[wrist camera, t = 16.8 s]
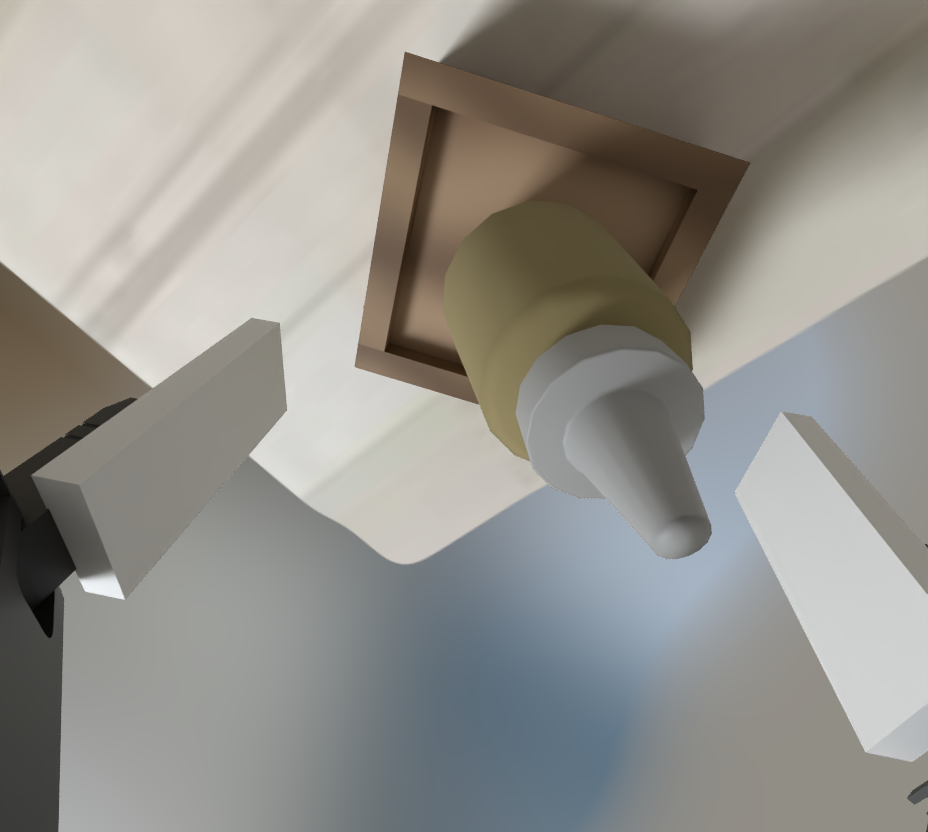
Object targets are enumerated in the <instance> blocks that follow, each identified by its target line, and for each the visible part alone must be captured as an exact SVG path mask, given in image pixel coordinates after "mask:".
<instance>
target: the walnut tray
mask: <svg viewBox="0 0 928 832" xmlns="http://www.w3.org/2000/svg"><path fill="white" fill-rule="evenodd" d="M749 164H750V163H749V162H746V161H743V160H740V159H737V158H734V157H731V156H728V155H725V154H721V153H718V152H715V151H712V150H709V149H706V148H703V147H700V146H697V145H693V144H690V143H687V142H684V141H681V140H678V139H675V138H672V137H669V136H666V135H662V134H659V133H656V132H653V131H650V130H647V129H644V128H641V127H638V126H634V125H631V124H628V123H625V122H622V121H619V120H616V119H613V118H610V117H606V116H603V115H600V114H597V113H594V112H591V111H588V110H585V109H582V108H578V107H575V106H572V105H569V104H566V103H563V102H560V101H557V100H554V99H550V98H547V97H544V96H541V95H538V94H535V93H532V92H529V91H526V90H522V89H519V88H516V87H513V86H510V85H507V84H504V83H501V82H498V81H494V80H491V79H488V78H485V77H482V76H479V75H476V74H473V73H470V72H467V71H463V70H460V69H457V68H454V67H451V66H448V65H445V64H442V63H439V62H435V61H432V60H429V59H426V58H423V57H420V56H417V55H414V54H411V53H407V52H405V54H404V60H403V67H402V73H401V79H400V85H399V92H398V98H397V104H396V111H395V117H394V123H393V129H392V136H391V142H390V148H389V154H388V161H387V167H386V173H385V179H384V186H383V192H382V198H381V205H380V211H379V217H378V223H377V230H376V236H375V242H374V248H373V255H372V261H371V267H370V274H369V280H368V286H367V292H366V299H365V305H364V311H363V317H362V324H361V330H360V336H359V343H358V349H357V355H356V361H355V367H356V368H360V369H363V370H366V371H370V372H373V373H376V374H379V375H383V376H386V377H389V378H393V379H396V380H399V381H403V382H406V383H409V384H413V385H416V386H419V387H423V388H426V389H429V390H433V391H436V392H439V393H443V394H446V395H449V396H453V397H456V398H459V399H462V400H466V401H469V402H472V403H476V404H479V402H478V400H477V397H476V395H475V393H474V390H473V388H472V385H471V383H470V380H469V378H468V376H467V373H466V371H465V368H464V366H463V363H462V361H461V359H460V356H459V354H458V351H457V349H456V346H455V344H454V342H453V339H452V336H451V333H450V330H449V327H448V325H447V322H446V319H445V316H444V313H443V299H444V283H445V274H446V272H447V270H448V268H449V266H450V264H451V262H452V260H453V258H454V256H455V254H456V252H457V250H458V248H459V246H460V244H461V242H462V240H463V239H464V238H465V237H467V236H468V235H469V234H470V233H471V232H472V231H473V230H474V229H475V228H477V227H478V226H479V225H480V224H481V223H482V222H483V221H484V220H486V219H487V218H488V217H489V216H490V215H491V214H493V213H495V212H498V211H501V210H504V209H507V208H510V207H513V206H515V205H518V204H521V203H524V202H527V201H530V200H531V201H543V202H555V203H567V204H570V205H572V206H573V207H575V208H577V209H578V210H580V211H582V212H583V213H585V214H587V215H588V216H590V217H592V218H593V219H595V220H597V221H598V222H600V223H601V224H602V225H603V226H604V227H605V228H606V230H607V231H608V232H609V233H610V234H611V235H612V236H613V237H614V238H615V239H616V241H617V242H618V243H619V244H620V245H621V246H622V247H623V248H624V249H625V250H626V252H627V253H628V254H629V255H630V256H631V257H632V258H633V259H634V260H635V262H636V263H637V264H638V265H639V266H640V267H641V268H642V269H643V270H644V271H645V273H646V274H647V275H648V276H649V277H650V278H651V279H652V280H653V281H654V282H655V284H656V285H657V286H658V287H659V288H660V289H661V290H662V291H663V292H664V293H665V295H666V296H667V297H668V298H669V299H670V300H671V302H672V304H673V305H674V306H675V304H676V302H677V300H678V299H679V297H680V295H681V293H682V291H683V289H684V287H685V285H686V283H687V282H688V280H689V278H690V276H691V274H692V272H693V270H694V268H695V266H696V265H697V263H698V261H699V259H700V257H701V255H702V253H703V251H704V249H705V248H706V246H707V244H708V242H709V240H710V238H711V236H712V234H713V232H714V231H715V229H716V227H717V225H718V223H719V221H720V219H721V217H722V215H723V213H724V212H725V210H726V208H727V206H728V204H729V202H730V200H731V198H732V196H733V195H734V193H735V191H736V189H737V187H738V185H739V183H740V181H741V179H742V178H743V176H744V174H745V172H746V170H747V168H748V166H749Z"/></svg>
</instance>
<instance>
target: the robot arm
mask: <svg viewBox="0 0 928 832" xmlns="http://www.w3.org/2000/svg"><path fill="white" fill-rule="evenodd" d="M286 411H287V405H286V393H285V381H284V369H283V358H282V346H281V334H280V323H277V322H272V321H266V320H260V319H255V318H251V319H250V320H248V321H247V322H245V323H244V324H243V325H241V326H240V327H238V328H237V329H236V330H234V331H233V332H231V333H230V334H229V335H227V336H226V337H224V338H223V339H222V340H220V341H219V342H217V343H216V344H215V345H213V346H212V347H210V348H209V349H208V350H206V351H205V352H203V353H202V354H201V355H199V356H198V357H196V358H195V359H194V360H192V361H191V362H189V363H188V364H186V365H185V366H184V367H182V368H181V369H179V370H178V371H177V372H175V373H174V374H172V375H171V376H170V377H168V378H167V379H165V380H164V381H163V382H161V383H160V384H158V385H157V386H156V387H154V388H153V389H151V390H150V391H149V392H147V393H146V394H144V395H143V396H142V397H140V398H139V399H135V398H129V399H126V400H123V401H121V402H118V403H116V404H114V405H111V406H108V407H105V408H103V409H102V410H100V411H99V412H97V413H96V414H94V415H93V416H92V417H90V418H89V419H87V420H86V421H84V422H83V425H82V426H80V425H78V426H77V427H75V428H74V429H72V430H71V431H69V432H68V433H67V434H66V436H65V437H64V438H62V437H60V438H59V439H58V440H56V441H55V442H53V443H52V444H50V445H49V446H47V447H46V448H44V449H43V450H41V451H40V452H39V453H37V454H35V455H34V456H33V457H31V458H30V459H28V460H27V461H25V462H24V463H22V464H21V465H19V466H18V467H16V468H15V469H13V470H12V471H11V472H9V473H8V474H6V475H4V476H3V475H2V473H1V471H0V832H58V823H59V821H58V820H59V782H60V781H59V780H60V741H61V699H62V658H63V655H62V654H63V618H64V617H63V616H64V597H63V594H62V591H61V589H60V587H59V585H60V584H61V583H62V582H63V581H64V580H65V579H66V578H67V577H68V576H70V574H72V572H74V571H76V573H77V575H78V577H79V579H80V582H81V584H82V586H83V588H84V590H85V592H90V593H95V594H100V595H105V596H110V597H114V598H119V599H124V600H125V599H126V598H127V597H128V596H129V595H130V593H131V592H132V591H133V590H134V589H135V588H136V587H137V585H138V584H139V583H140V582H141V581H142V580H143V578H144V577H145V576H146V575H147V574H148V572H149V571H150V570H151V569H152V568H153V567H154V565H155V564H156V563H157V562H158V561H159V560H160V558H161V557H162V556H163V555H164V554H165V553H166V551H167V550H168V549H169V548H170V547H171V545H172V544H173V543H174V542H175V541H176V540H177V538H178V537H179V536H180V535H181V534H182V533H183V531H184V530H185V529H186V528H187V527H188V526H189V524H190V523H191V522H192V521H193V520H194V518H195V517H196V516H197V515H198V514H199V513H200V511H201V510H202V509H203V508H204V507H205V505H206V504H207V503H208V502H209V501H210V500H211V499H212V497H213V496H214V495H215V494H216V493H217V492H218V490H219V489H220V488H221V487H222V485H224V483H225V482H226V481H227V480H228V479H229V478H230V476H231V475H232V474H233V473H234V472H235V470H236V469H237V468H238V467H239V466H240V465H241V463H242V462H243V461H244V460H245V459H246V458H247V456H248V455H249V454H250V453H251V452H252V451H253V449H254V448H255V447H256V446H257V445H258V443H259V442H260V441H261V440H262V439H263V438H264V436H265V435H266V434H267V433H268V432H269V431H270V429H271V428H272V427H273V426H274V425H275V424H276V422H277V421H278V420H279V419H280V418H281V417H282V415H283V414H284V413H285V412H286ZM735 495H736V497H737V499H738V500H739V503H740V505H741V507H742V509H743V511H744V513H745V515H746V517H747V518H748V521H749V523H750V525H751V526H752V528H753V530H754V532H755V534H756V536H757V538H758V540H759V542H760V544H761V546H762V548H763V550H764V552H765V554H766V556H767V558H768V560H769V562H770V564H771V566H772V568H773V570H774V572H775V574H776V576H777V578H778V580H779V582H780V584H781V586H782V588H783V590H784V592H785V593H786V596H787V598H788V600H789V602H790V604H791V606H792V607H793V610H794V612H795V614H796V615H797V617H798V619H799V621H800V623H801V625H802V627H803V629H804V631H805V633H806V635H807V637H808V639H809V641H810V643H811V645H812V647H813V649H814V651H815V653H816V655H817V657H818V659H819V661H820V663H821V665H822V667H823V669H824V671H825V673H826V675H827V677H828V678H829V681H830V683H831V685H832V687H833V689H834V691H835V692H836V695H837V697H838V699H839V700H840V703H841V705H842V706H843V708H844V710H845V712H846V714H847V716H848V718H849V720H850V722H851V724H852V726H853V728H854V730H855V732H856V734H857V736H858V738H859V740H860V742H861V744H862V746H863V748H864V750H865V752H867V753H872V754H876V755H881V756H886V757H891V758H897V759H901V760H906V761H910V762H913V761H914V760H915V759H917V758H918V757H920V756H921V755H922V754H924V753H925V752H926V751H928V545H927V544H924V543H923V542H922V541H921V540H920V538H919V537H918V536H917V535H916V534H915V533H914V532H913V531H912V530H911V528H910V527H909V526H908V525H907V524H906V523H905V521H904V520H903V519H902V518H901V517H900V516H899V515H898V514H897V513H896V511H895V510H894V509H893V508H892V507H891V506H890V505H889V504H888V502H887V501H886V500H885V499H884V498H883V497H882V496H881V494H880V493H879V492H878V491H877V490H876V489H875V488H874V486H873V485H872V484H871V483H870V482H869V481H868V480H867V479H866V477H865V476H864V475H863V474H862V473H861V472H860V471H859V470H858V468H857V467H856V466H855V465H854V464H853V463H852V462H851V460H850V459H849V458H848V457H847V456H846V455H845V454H844V453H843V451H842V450H841V449H840V448H839V447H838V446H837V445H836V443H834V441H833V440H832V439H831V438H830V437H829V436H828V434H827V433H826V432H825V431H824V430H823V429H822V428H821V427H820V426H819V424H818V423H817V422H816V421H815V420H814V419H813V418H812V417H810V416H804V415H798V414H792V413H787V412H781V413H780V415H779V416H778V418H777V420H776V421H775V423H774V425H773V427H772V428H771V430H770V432H769V434H768V435H767V437H766V439H765V441H764V442H763V444H762V446H761V448H760V449H759V451H758V453H757V454H756V457H755V458H754V460H753V461H752V463H751V465H750V467H749V468H748V470H747V472H746V474H745V475H744V477H743V479H742V481H741V483H740V484H739V486H738V488H737V489H736V491H735ZM926 797H928V781H926V782H925V783H923V784H922V785H920V786H919V787H917V788H916V789H914V790H913V791H912V792H911V794H910V795H909V796H908V798H907V799H908V800H909V801H911V802H912V803H913V804H916V803H918V802H920V801H921V800H923V799H925V798H926ZM927 815H928V812H927ZM926 832H928V826H927V831H926Z"/></svg>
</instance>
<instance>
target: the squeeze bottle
mask: <svg viewBox="0 0 928 832" xmlns="http://www.w3.org/2000/svg"><path fill="white" fill-rule="evenodd" d="M443 313H444V316H445V319H446V322H447V325H448V327H449V330H450V333H451V336H452V339H453V342H454V344H455V346H456V349H457V351H458V354H459V356H460V359H461V361H462V363H463V366H464V368H465V371H466V373H467V376H468V378H469V380H470V383H471V385H472V388H473V390H474V393H475V395H476V397H477V400H478V402H479V405H480V407H481V410H482V412H483V414H484V417H485V419H486V422H487V424H488V427H489V429H490V431H491V432H492V433H493V434H494V435H495V436H496V437H497V438H498V439H499V440H500V441H501V442H502V443H503V444H504V445H505V446H506V447H507V448H508V449H509V450H510V451H511V452H512V453H513V454H514V455H516V456H518V457H521V458H523V459H526V460H528V461H530V462H531V465H532V468H533V470H534V471H535V472H536V473H537V474H538V475H539V476H540V477H541V478H542V479H543V480H544V481H545V482H546V483H547V484H548V485H549V486H551V488H554V489H556V490H559V491H562V492H564V493H567V494H569V495H572V496H575V497H577V498H599V499H607V500H608V501H609V502H610V504H611V505H612V506H613V507H614V508H615V509H616V510H617V511H618V512H619V514H620V515H621V516H622V517H623V518H624V519H625V520H626V521H627V522H628V523H629V525H630V526H631V527H632V528H633V529H634V530H635V531H636V532H637V534H638V535H639V536H640V537H641V538H642V539H643V540H644V541H645V542H646V543H647V544H648V546H649V547H650V548H651V549H652V550H653V551H654V552H655V553H656V554H657V555H658V556H660V557H663V558H666V559H678V558H682V557H686V556H689V555H691V554H693V553H695V552H697V551H698V550H700V549H701V548H702V547H703V546H704V545H705V544H706V543H707V542H708V540H709V538H710V536H711V533H712V532H711V524H710V521H709V518H708V516H707V513H706V510H705V508H704V505H703V502H702V500H701V497H700V494H699V492H698V489H697V487H696V484H695V481H694V478H693V476H692V473H691V471H690V468H689V465H688V462H687V460H686V457H685V456H686V455H687V454H688V452H689V451H690V450H691V449H692V448H693V446H694V443H695V441H696V438H697V436H698V433H699V431H700V428H701V426H702V423H703V421H704V400H703V388H702V386H701V385H700V383H699V382H698V380H697V379H696V377H695V376H694V374H693V373H692V370H693V366H692V352H691V337H690V331H689V329H688V328H687V326H686V324H685V323H684V321H683V320H682V318H681V316H680V315H679V313H678V312H677V310H676V308H675V307H674V305H673V304H672V302H671V300H670V299H669V298H668V297H667V296H666V295H665V293H664V292H663V291H662V290H661V289H660V288H659V287H658V286H657V285H656V284H655V282H654V281H653V280H652V279H651V278H650V277H649V276H648V275H647V274H646V273H645V271H644V270H643V269H642V268H641V267H640V266H639V265H638V264H637V263H636V262H635V260H634V259H633V258H632V257H631V256H630V255H629V254H628V253H627V252H626V250H625V249H624V248H623V247H622V246H621V245H620V244H619V243H618V242H617V241H616V239H615V238H614V237H613V236H612V235H611V234H610V233H609V232H608V231H607V230H606V228H605V227H604V226H603V225H602V224H601V223H600V222H598V221H597V220H595V219H593V218H592V217H590V216H588V215H587V214H585V213H583V212H582V211H580V210H578V209H577V208H575V207H573V206H572V205H570V204H567V203H555V202H543V201H531V200H530V201H527V202H524V203H521V204H518V205H515V206H513V207H510V208H507V209H504V210H501V211H498V212H495V213H493V214H491V215H490V216H489V217H488V218H487V219H486V220H484V221H483V222H482V223H481V224H480V225H479V226H478V227H477V228H475V229H474V230H473V231H472V232H471V233H470V234H469V235H468V236H467V237H465V238H464V239H463V240H462V242H461V244H460V246H459V248H458V250H457V252H456V254H455V256H454V258H453V260H452V262H451V264H450V266H449V268H448V270H447V272H446V274H445V283H444V299H443Z"/></svg>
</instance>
